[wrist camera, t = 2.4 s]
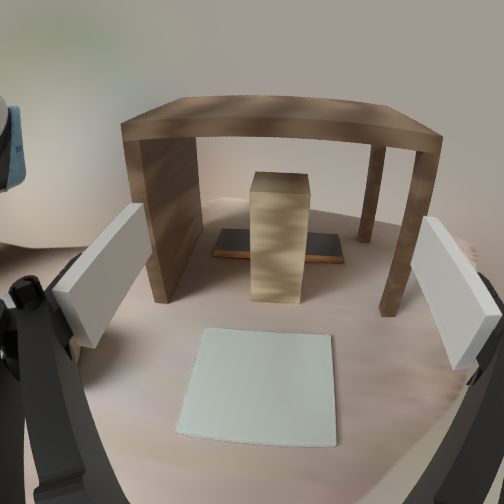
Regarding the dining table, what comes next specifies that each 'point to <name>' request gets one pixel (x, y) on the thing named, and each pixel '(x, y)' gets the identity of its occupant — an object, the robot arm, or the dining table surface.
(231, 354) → the pad
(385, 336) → the dining table surface
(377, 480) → the dining table surface
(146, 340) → the dining table surface
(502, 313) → the robot arm
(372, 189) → the small wooden table
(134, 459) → the dining table surface
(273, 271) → the maple block
